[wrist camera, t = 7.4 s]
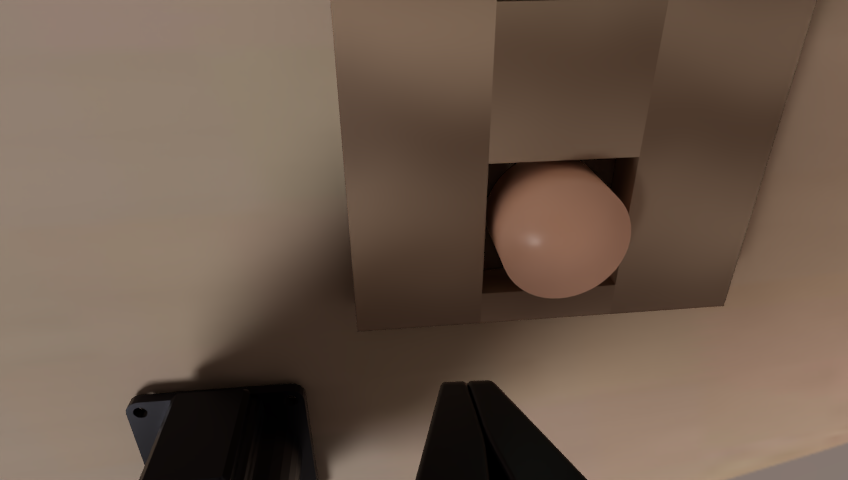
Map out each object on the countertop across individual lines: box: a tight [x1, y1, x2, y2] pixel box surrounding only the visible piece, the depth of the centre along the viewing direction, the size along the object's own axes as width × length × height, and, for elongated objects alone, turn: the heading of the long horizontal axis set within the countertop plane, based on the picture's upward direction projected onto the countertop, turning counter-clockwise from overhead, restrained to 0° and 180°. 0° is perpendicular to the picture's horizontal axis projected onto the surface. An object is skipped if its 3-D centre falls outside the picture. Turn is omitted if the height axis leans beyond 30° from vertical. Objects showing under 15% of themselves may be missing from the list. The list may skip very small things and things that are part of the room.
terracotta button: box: [486, 160, 631, 299], centre depth 18 cm, size 4×4×2 cm
